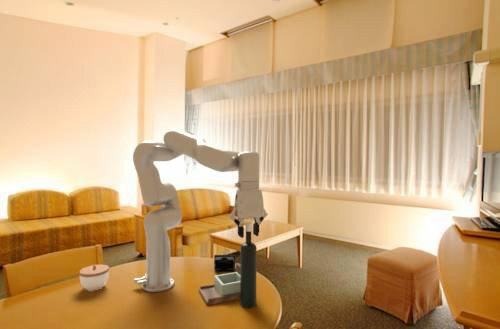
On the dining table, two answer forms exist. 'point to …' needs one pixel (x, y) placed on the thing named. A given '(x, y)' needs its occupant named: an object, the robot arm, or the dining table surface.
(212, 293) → the rail board
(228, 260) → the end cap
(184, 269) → the dining table surface
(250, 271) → the wine bottle
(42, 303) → the dining table surface
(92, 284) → the lidded jar
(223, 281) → the socket block
